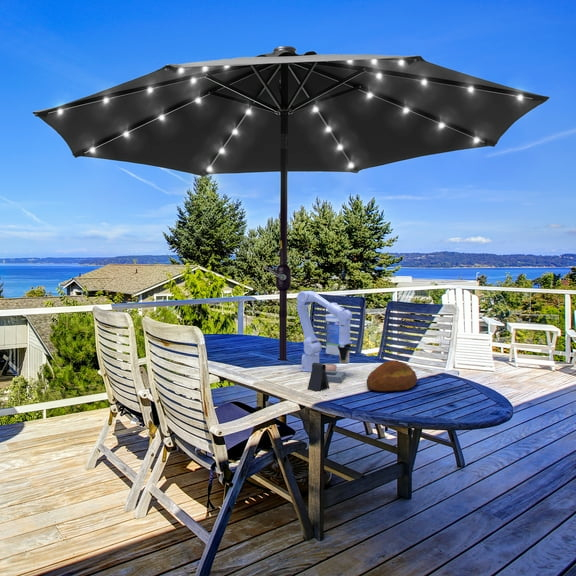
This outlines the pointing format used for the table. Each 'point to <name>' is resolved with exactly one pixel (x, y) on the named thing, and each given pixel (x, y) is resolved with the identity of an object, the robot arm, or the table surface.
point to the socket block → (335, 376)
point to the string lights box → (332, 335)
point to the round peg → (330, 367)
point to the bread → (392, 377)
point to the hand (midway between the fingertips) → (344, 358)
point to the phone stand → (318, 377)
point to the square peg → (345, 359)
